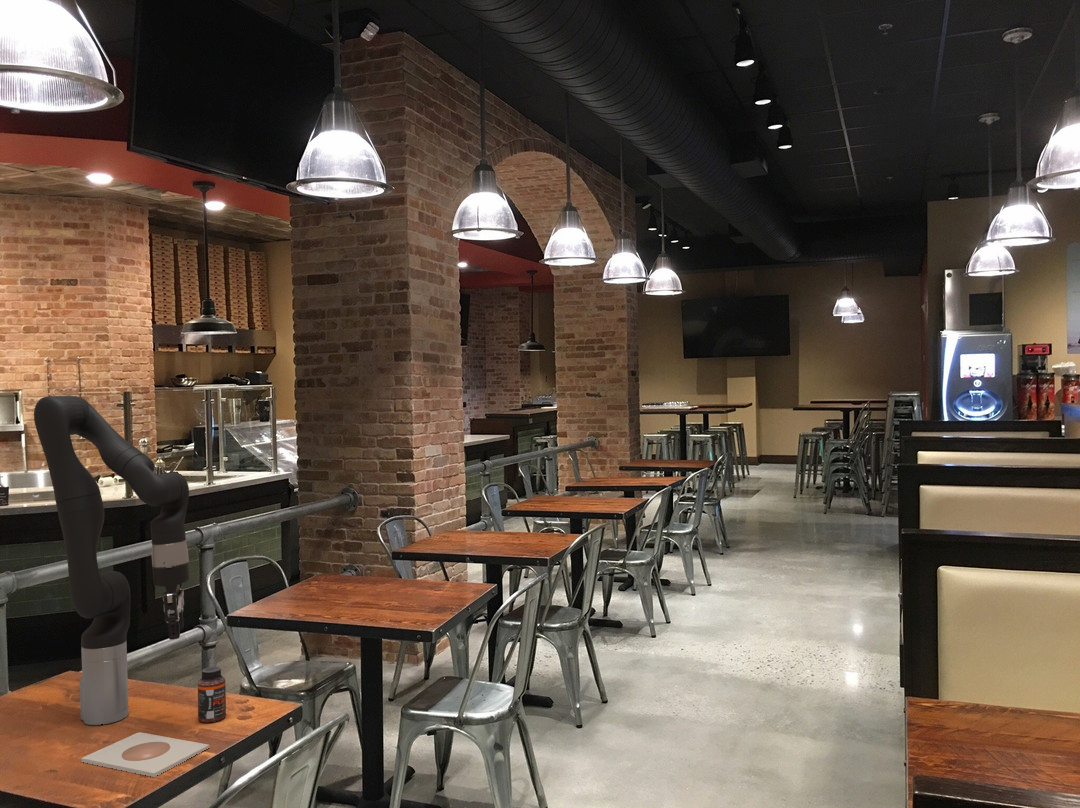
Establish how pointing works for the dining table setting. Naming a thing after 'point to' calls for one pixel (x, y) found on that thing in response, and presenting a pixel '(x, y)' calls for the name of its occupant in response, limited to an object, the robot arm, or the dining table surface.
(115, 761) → the board
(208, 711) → the supplement bottle
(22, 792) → the dining table surface
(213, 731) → the dining table surface
